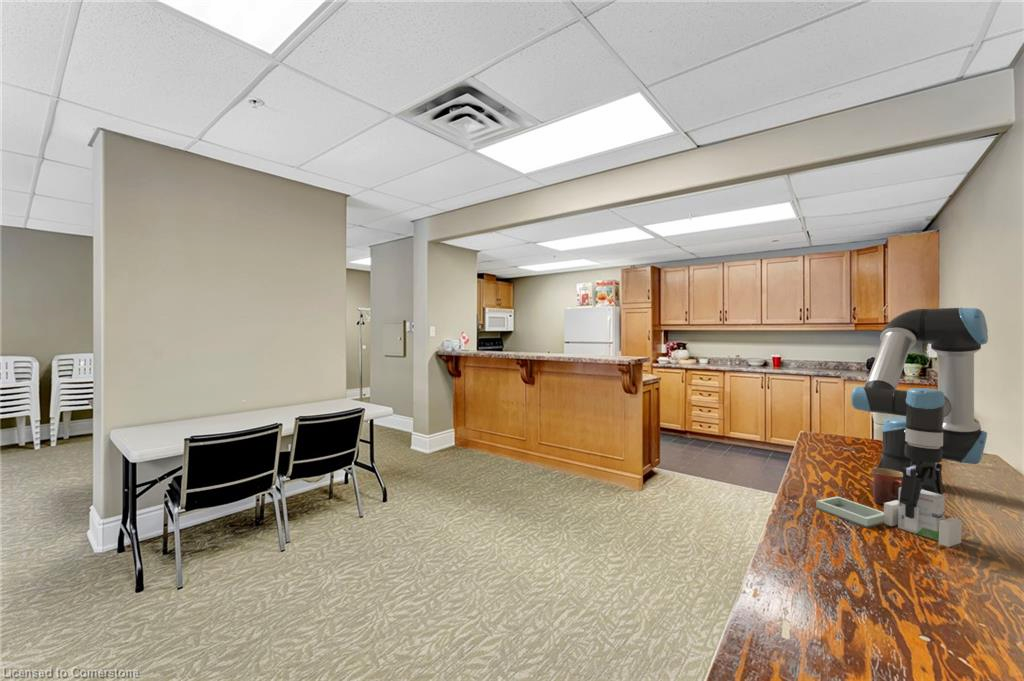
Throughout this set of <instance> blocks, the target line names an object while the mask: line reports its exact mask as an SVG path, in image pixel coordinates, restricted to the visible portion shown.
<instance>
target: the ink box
mask: <svg viewBox="0 0 1024 681" xmlns="http://www.w3.org/2000/svg"><path fill="white" fill-rule="evenodd" d="M900 493H901V487H900V488H899V500H900ZM899 500H898V525H897V528H898V529H899V530H903V531H906V532H909V533H912V534H915V535H918V536H921V537H924V538H928V539H930V540H933V541H937V542H939V521H941V520H944V519H946V517H945V515H946V511H945V510H946V509H945V505H946V501H945V500H946V495H945V494H943V495H941V494H938V493H934V492H930V491H926V490H924V489H923V488H921V492H920V495H919V499H918V502H917V506H916V507H919V516H918V531H914V530H911V529H908V528H905V527H904V518H905V504H902V503H900V501H899Z"/></svg>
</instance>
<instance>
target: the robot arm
mask: <svg viewBox="0 0 1024 681" xmlns="http://www.w3.org/2000/svg"><path fill="white" fill-rule="evenodd" d="M988 334H989V333H988V326H987V320H986V316H985V314H984V312H983V311H982V310H981V309H980V308H975V307H971V308H970V307H945V308H944V307H943V308H942V307H941V308H940V307H939V308H917V309H916V308H915V309H911V310H908V311H905V312H903V313H901V314H899V315H897V316H896V317H894V318H892V319H890V321H889V322H888V323H886V325H885V326H884V328H882V330H881V333H880V336H879V339H880V340H879V341H880V345H879V348H878V351H877V354H876V356H875V358H874V362H873V363H872V367H871V369H870V372H869V374H868V376H867V378H866V379H867V380H866V382H865V384H864V386H863V385H862V386H855V387H853V389H852V391H851V398H850V401H851V406H852V407H853V408H854V409H855V410H857V411H863V412H868V413H877V414H886V415H887V414H888V415H896V416H902V417H891V418H887V419H885V420H884V421H883V425H882V430H881V431H882V442H881V443H882V446H881V447H882V450H881V451H882V452H881V454H882V455H881V458H880V460H879V462H878V464H877V465H876V468H884V469H891V470H895V471H899V472H902V473H903V480H902V487H901V493H900V500H899V501H900V503H902V504H905V518H904V527H905V528H908V529H911V530H914V531H918V516H919V507H916V506H917V502H918V499H919V495H920V492H921V489H923V490H926V491H930V492H934V493H938V494H941V495H944V492H943V491H944V490H943V479H942V469H943V465H942V462H943V460H944V461H945V460H946V461H951V462H956V463H960V464H969V465H977V464H979V463H980V462H981V461H982V458H983V454H984V451H985V447H986V441H987V436H988V432H987V431H984V430H982V428H981V425H980V423H979V422H977V421H975V354H976V353H977V352H978V351H980V350H981V349H982V345H985V344H987V343H988V341H989V335H988ZM917 343H925V344H926V343H927V344H928V343H929V344H930V349H931V350H932V351H934V352H935V353H936V354H937V389H933V388H924V387H923V388H920V387H914V388H913V387H912V388H909V389H908V390H901V389H897V388H898V384H899V382H900V379H901V377H902V373H903V370H904V367H905V363H906V360H907V359H908V355H909V352H910V350H911V348H912V349H913V347H914V346H915V345H916V344H917ZM903 416H904V417H903Z"/></svg>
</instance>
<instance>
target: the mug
mask: <svg viewBox="0 0 1024 681" xmlns="http://www.w3.org/2000/svg"><path fill="white" fill-rule="evenodd" d="M870 470H871V474H872V477H873V485H872V486H873V487H872V489H873V490H872V495H873V501H875V502H876V503H877V504H879V505H882V506H884V503H886V502H890V501H895V500H899V488H900V487H902V480H903V473H902V472H899V471H895V470H891V469H884V468H877V467H874V468H871V469H870Z"/></svg>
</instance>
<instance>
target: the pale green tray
mask: <svg viewBox="0 0 1024 681" xmlns="http://www.w3.org/2000/svg"><path fill="white" fill-rule="evenodd" d="M815 501H816V506H815V509H816V510H818V511H821V512H822V513H823V512H824V513H826V514H829V515H831V516H834V517H835V518H836V517H837V518H839V519H843V520H844V521H846V522H850V523H853V524H854V525H857V526H860V527H862V528H865V529H869V528H873V527H877V526H880V525H881V526H882V525H885V524H884V511H881V510H879V509H875V508H873V507H870V506H867V505H865V504H864V505H863V504H861V503H858V502H856V501H852V500H850V499H847V498H843V497H840V496H837V495H836V496H833V497H827V498H822V499H818V500H815Z"/></svg>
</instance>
